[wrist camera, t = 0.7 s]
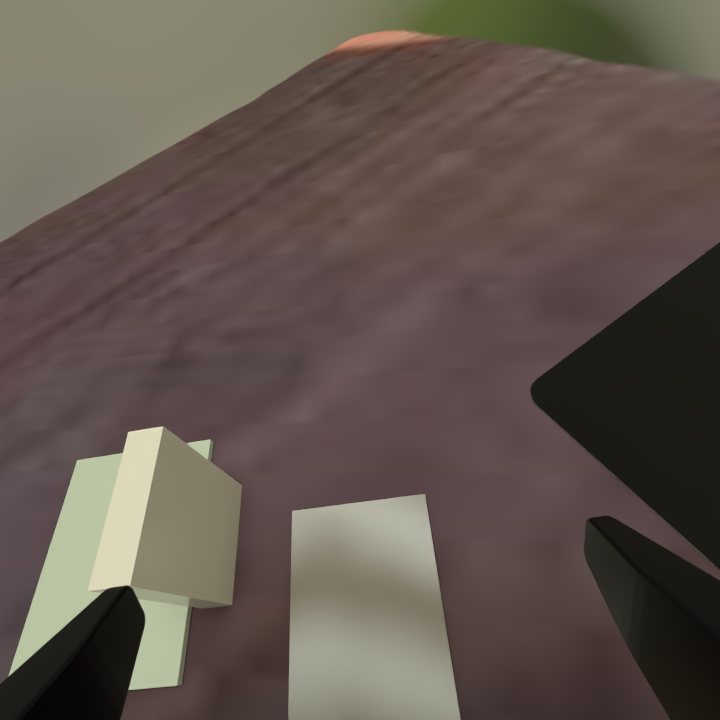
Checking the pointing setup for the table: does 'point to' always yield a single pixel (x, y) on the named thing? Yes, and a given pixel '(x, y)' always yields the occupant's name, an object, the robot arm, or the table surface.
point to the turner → (368, 615)
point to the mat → (74, 570)
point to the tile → (170, 525)
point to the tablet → (653, 401)
